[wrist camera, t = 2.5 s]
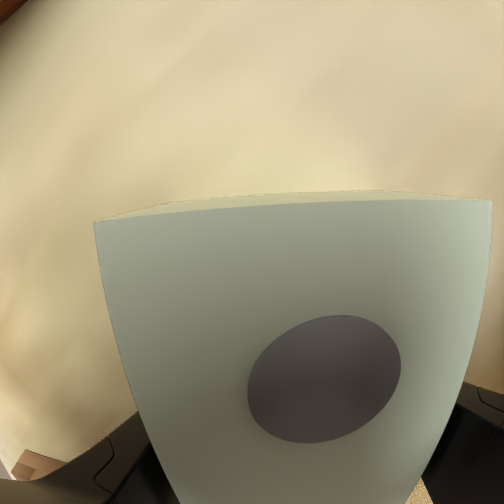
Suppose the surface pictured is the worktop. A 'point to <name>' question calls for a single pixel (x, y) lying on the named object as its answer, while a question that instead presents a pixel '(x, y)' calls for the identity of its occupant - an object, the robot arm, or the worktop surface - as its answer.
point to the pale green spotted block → (296, 337)
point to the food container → (9, 8)
